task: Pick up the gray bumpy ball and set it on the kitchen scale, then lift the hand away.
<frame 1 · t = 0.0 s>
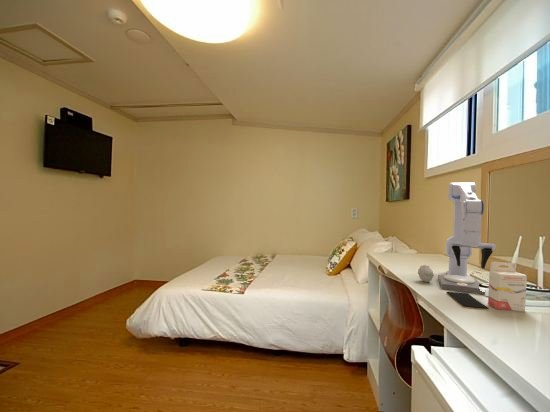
hand: (470, 266, 106), 10 cm above the table, tool pointing down, fingers open, 7 cm apart
smartphone: (465, 302, 97), on the table
kitchen scale: (459, 286, 115), on the table
ink cartridge box: (506, 308, 92), on the table
gray bumpy ball: (425, 282, 121), on the table
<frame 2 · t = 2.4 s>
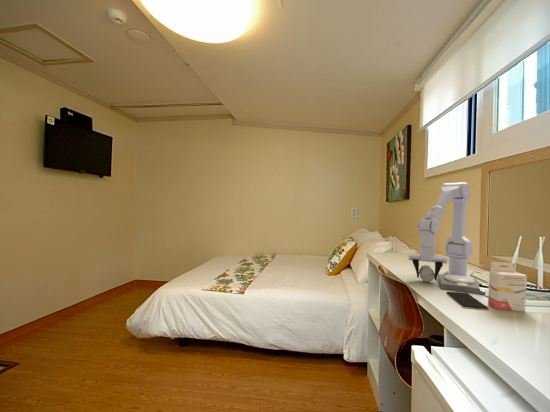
hand: (426, 278, 120), 2 cm above the table, tool pointing down, fingers closed on gray bumpy ball, 6 cm apart
gray bumpy ball: (426, 282, 120), on the table, touching gripper
everything else where it was.
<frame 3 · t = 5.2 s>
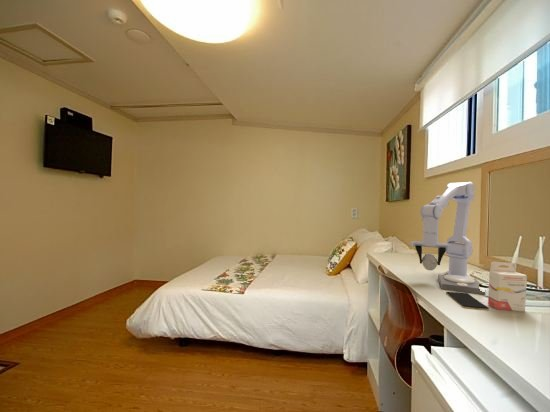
hand: (429, 264, 120), 8 cm above the table, tool pointing down, fingers closed on gray bumpy ball, 6 cm apart
gray bumpy ball: (428, 270, 120), point 5 cm above the table, touching gripper
everything else where it was.
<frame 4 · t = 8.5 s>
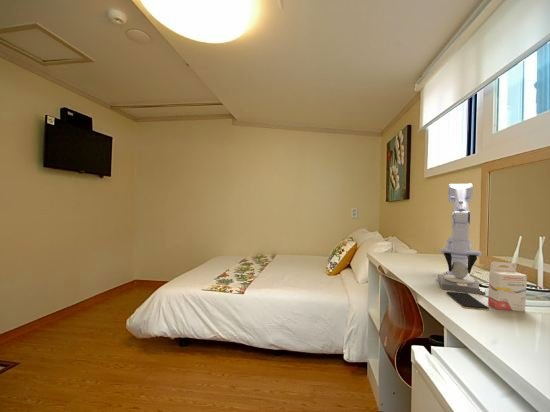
hand: (459, 272, 116), 5 cm above the table, tool pointing down, fingers closed on gray bumpy ball, 6 cm apart
gray bumpy ball: (459, 278, 117), point 3 cm above the table, touching gripper, kitchen scale
everything else where it was.
when the fingers open (5 cm above the table, at t = 8.8 s): gray bumpy ball stays where it is, resting on kitchen scale.
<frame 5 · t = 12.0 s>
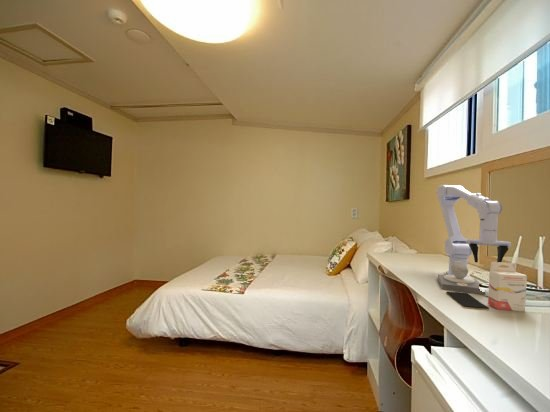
hand: (487, 263, 114), 10 cm above the table, tool pointing down, fingers open, 7 cm apart
gray bumpy ball: (459, 278, 117), point 3 cm above the table, touching kitchen scale
everything else where it was.
at the end: gray bumpy ball inside the target area on the kitchen scale (0.5 cm from its centre), point 2.6 cm above the kitchen scale's base; gray bumpy ball tilted 0°; the gripper is holding nothing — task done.
